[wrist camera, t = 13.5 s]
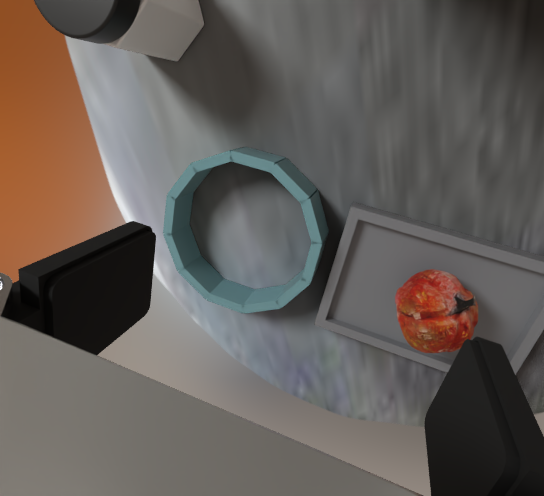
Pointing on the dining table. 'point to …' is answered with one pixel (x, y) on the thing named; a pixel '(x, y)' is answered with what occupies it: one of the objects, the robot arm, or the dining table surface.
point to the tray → (419, 257)
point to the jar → (128, 23)
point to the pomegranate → (436, 312)
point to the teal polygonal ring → (202, 271)
